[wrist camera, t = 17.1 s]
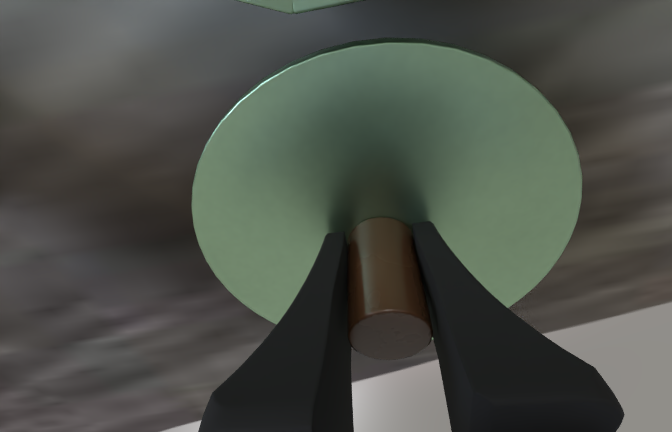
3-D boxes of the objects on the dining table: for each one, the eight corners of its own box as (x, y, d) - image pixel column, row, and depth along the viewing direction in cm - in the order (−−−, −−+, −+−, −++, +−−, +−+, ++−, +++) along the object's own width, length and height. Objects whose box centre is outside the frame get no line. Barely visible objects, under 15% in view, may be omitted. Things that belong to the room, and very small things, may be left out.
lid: (129, 77, 11) (5, 162, 7) (617, -14, 9) (820, 31, 5) (262, 337, 19) (240, 444, 15) (535, 314, 18) (590, 429, 14)
